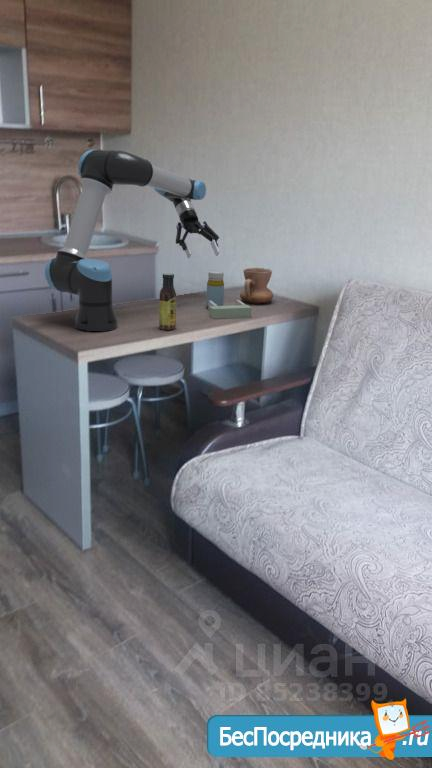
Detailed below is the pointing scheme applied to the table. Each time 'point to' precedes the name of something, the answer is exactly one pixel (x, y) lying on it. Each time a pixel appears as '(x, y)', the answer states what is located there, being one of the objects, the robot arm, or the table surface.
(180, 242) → the robot arm
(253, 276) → the ceramic jug
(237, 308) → the green-backed grey tray
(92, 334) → the table surface
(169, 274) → the sauce bottle
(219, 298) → the bottle
